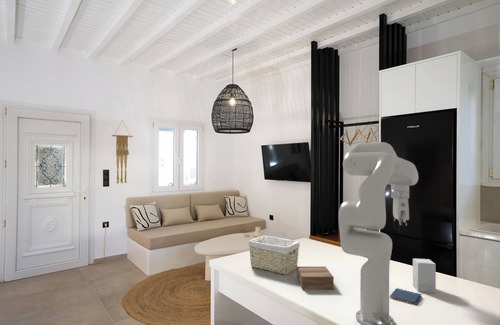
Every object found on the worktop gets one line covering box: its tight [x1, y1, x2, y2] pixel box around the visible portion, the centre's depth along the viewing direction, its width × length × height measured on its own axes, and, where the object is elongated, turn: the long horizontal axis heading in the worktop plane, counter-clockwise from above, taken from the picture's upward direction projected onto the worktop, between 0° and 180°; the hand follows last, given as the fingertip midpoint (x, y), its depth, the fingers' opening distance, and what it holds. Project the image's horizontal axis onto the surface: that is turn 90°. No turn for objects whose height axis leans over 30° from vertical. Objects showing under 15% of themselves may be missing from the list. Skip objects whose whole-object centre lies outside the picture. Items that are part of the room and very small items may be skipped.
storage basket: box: [248, 235, 301, 276], centre depth 165 cm, size 24×16×15 cm
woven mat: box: [389, 287, 423, 306], centre depth 129 cm, size 10×11×2 cm
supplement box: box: [412, 258, 437, 294], centre depth 138 cm, size 7×7×13 cm
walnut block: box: [296, 266, 335, 291], centre depth 143 cm, size 14×14×6 cm
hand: (400, 231), depth 143 cm, fingers open, 9 cm apart
